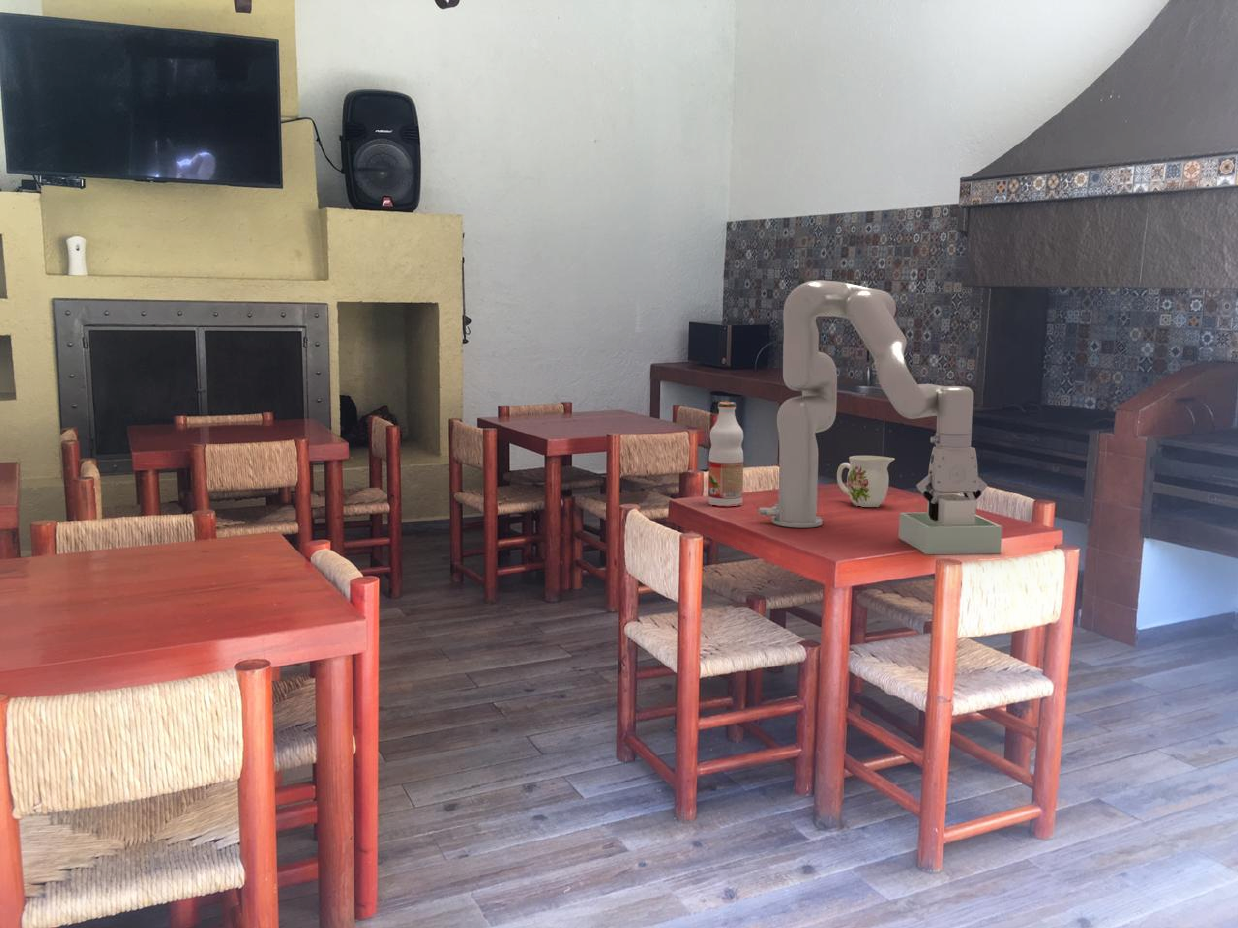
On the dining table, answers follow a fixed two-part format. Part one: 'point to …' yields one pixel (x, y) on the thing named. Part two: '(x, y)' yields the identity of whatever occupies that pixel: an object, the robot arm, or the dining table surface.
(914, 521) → the big crate
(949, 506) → the small tote
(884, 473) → the pitcher
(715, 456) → the fruit juice
